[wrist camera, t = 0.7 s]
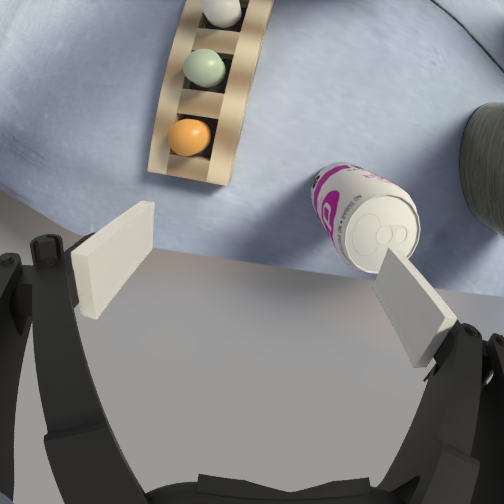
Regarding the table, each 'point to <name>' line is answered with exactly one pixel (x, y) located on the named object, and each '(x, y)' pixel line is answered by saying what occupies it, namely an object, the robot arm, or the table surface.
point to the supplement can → (364, 215)
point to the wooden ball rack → (208, 103)
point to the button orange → (189, 137)
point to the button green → (204, 68)
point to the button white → (222, 12)
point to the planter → (484, 165)
